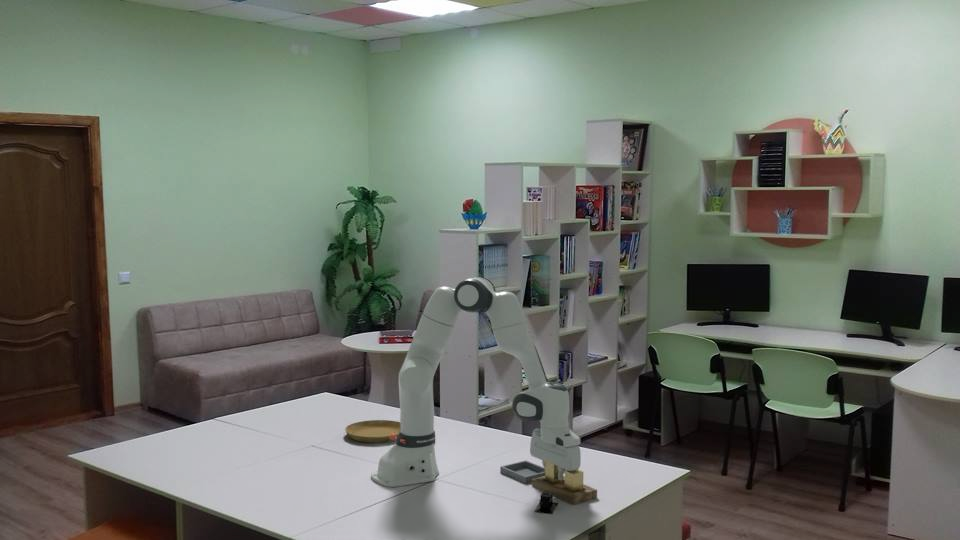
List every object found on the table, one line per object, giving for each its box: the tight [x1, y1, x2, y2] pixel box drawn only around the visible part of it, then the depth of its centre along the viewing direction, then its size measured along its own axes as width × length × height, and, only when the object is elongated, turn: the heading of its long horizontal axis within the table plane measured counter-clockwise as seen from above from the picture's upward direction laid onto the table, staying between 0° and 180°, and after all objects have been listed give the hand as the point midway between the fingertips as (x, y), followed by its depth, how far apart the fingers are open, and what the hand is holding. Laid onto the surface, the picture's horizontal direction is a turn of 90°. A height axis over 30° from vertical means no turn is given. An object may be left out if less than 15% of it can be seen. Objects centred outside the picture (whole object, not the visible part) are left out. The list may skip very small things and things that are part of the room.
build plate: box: [533, 491, 559, 515], centre depth 246 cm, size 12×7×5 cm, turn 164°
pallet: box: [531, 475, 598, 506], centre depth 259 cm, size 10×19×2 cm, turn 37°
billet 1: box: [545, 460, 563, 485], centre depth 262 cm, size 4×4×8 cm
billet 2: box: [564, 469, 584, 493], centre depth 255 cm, size 4×4×8 cm
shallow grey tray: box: [499, 460, 545, 485], centre depth 274 cm, size 11×13×2 cm
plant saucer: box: [344, 419, 400, 444], centre depth 319 cm, size 24×24×3 cm
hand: (554, 477), depth 262 cm, fingers closed on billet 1, 4 cm apart
